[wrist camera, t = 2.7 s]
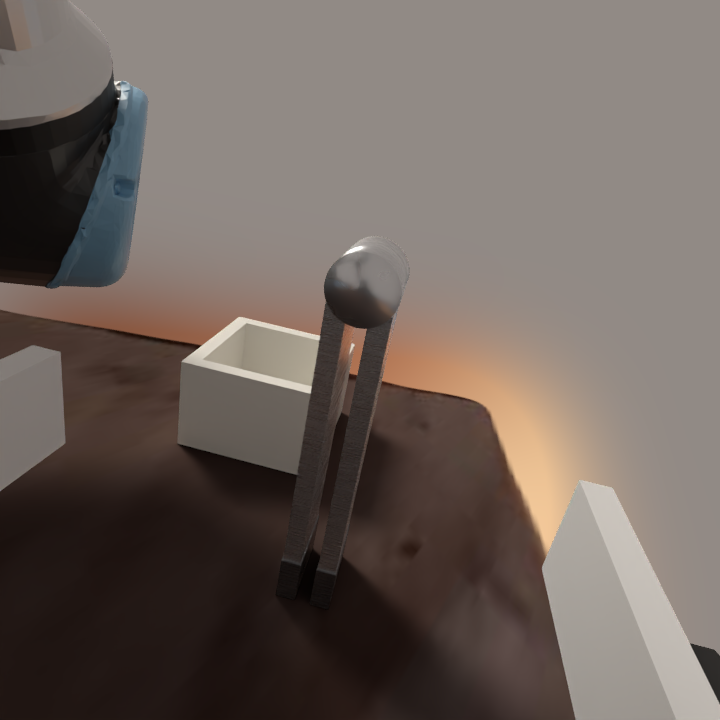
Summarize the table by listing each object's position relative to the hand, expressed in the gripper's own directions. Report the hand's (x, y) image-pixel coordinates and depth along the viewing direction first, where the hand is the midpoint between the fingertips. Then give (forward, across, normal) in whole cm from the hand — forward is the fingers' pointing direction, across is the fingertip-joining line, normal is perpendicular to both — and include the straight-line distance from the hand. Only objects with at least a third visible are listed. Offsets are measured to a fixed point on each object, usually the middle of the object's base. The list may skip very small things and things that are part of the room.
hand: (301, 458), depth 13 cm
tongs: (+10, 0, -14) cm, 18 cm away
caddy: (+23, -7, -14) cm, 28 cm away
